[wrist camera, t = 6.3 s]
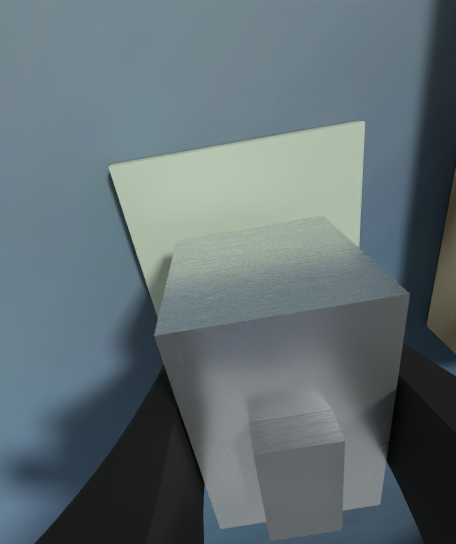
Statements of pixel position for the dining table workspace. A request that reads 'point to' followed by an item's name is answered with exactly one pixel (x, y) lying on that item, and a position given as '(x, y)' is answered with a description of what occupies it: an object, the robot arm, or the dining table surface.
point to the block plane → (446, 281)
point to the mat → (239, 191)
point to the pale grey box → (284, 371)
